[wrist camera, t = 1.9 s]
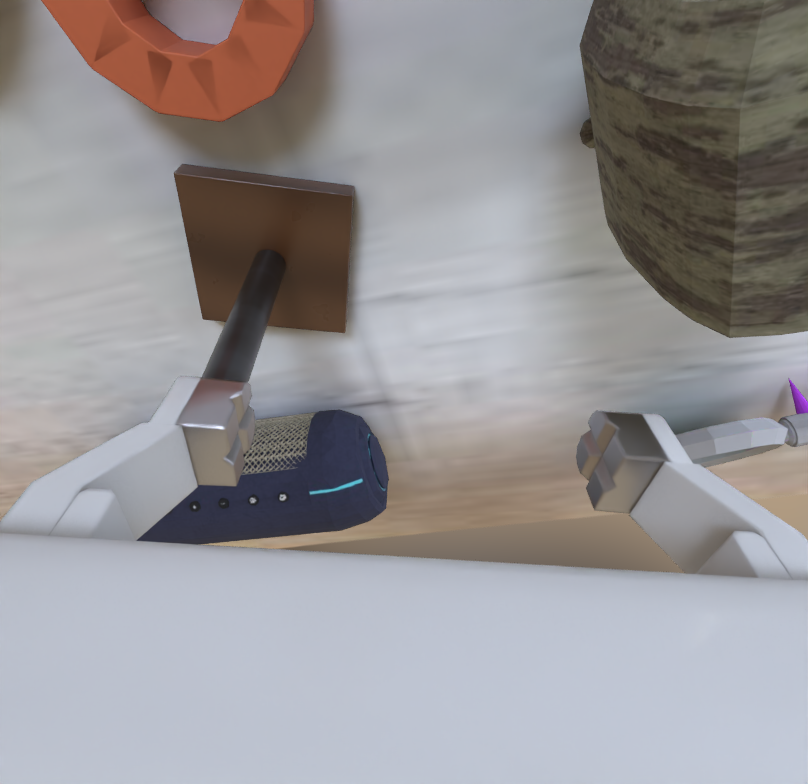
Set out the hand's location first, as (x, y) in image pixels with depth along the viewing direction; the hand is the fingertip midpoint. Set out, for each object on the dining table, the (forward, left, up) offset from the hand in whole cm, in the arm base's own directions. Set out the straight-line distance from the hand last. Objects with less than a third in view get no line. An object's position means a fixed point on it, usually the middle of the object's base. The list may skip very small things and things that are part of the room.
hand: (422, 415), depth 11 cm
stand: (+8, -8, -21) cm, 24 cm away
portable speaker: (+27, -11, -22) cm, 36 cm away
